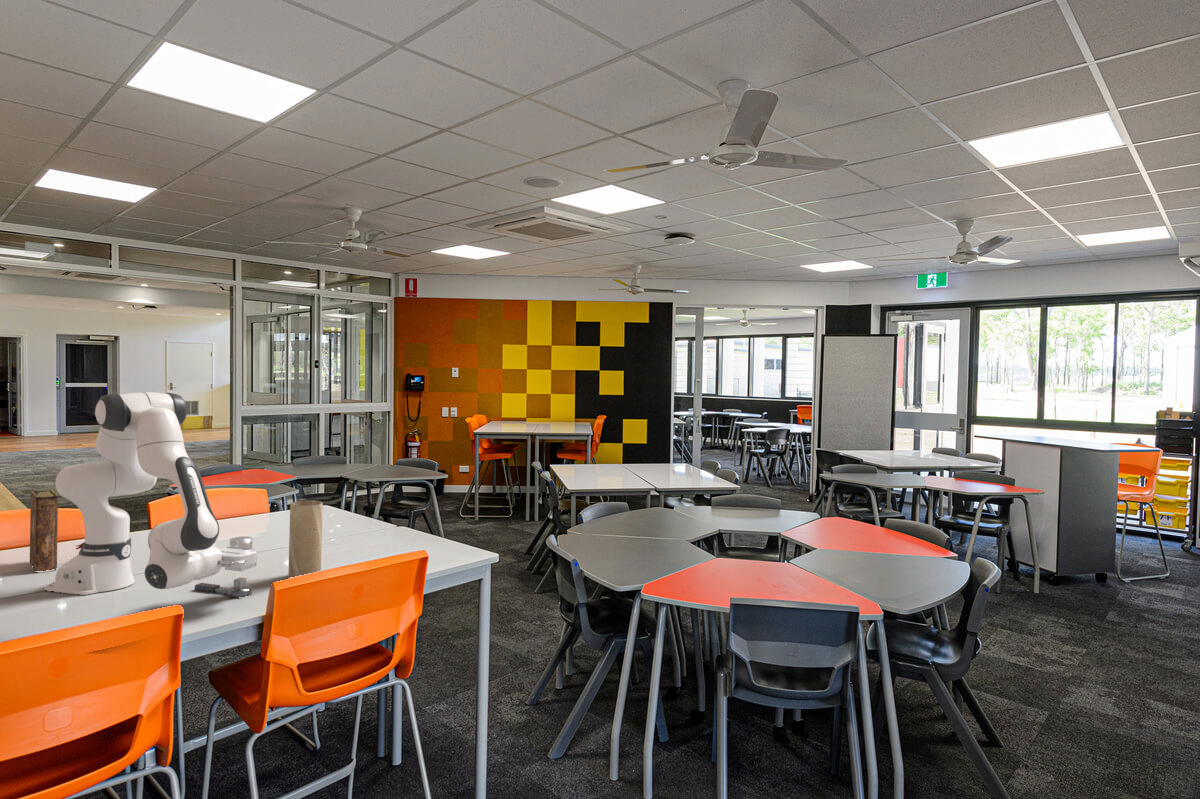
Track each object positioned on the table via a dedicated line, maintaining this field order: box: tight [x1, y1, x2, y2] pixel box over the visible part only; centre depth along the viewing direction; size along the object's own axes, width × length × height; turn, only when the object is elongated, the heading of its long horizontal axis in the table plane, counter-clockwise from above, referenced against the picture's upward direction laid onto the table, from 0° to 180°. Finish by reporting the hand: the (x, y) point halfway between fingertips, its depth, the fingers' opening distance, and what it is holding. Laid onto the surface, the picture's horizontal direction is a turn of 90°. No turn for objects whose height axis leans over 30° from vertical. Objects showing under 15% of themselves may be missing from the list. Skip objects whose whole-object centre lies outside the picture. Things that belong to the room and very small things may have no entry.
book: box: [29, 489, 59, 572], centre depth 216 cm, size 16×6×25 cm, turn 47°
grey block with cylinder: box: [224, 536, 257, 572], centre depth 195 cm, size 6×6×9 cm
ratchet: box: [194, 576, 253, 599], centre depth 197 cm, size 19×6×5 cm, turn 76°
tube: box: [287, 499, 324, 579], centre depth 215 cm, size 10×10×25 cm
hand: (243, 550), depth 196 cm, fingers closed on grey block with cylinder, 6 cm apart
